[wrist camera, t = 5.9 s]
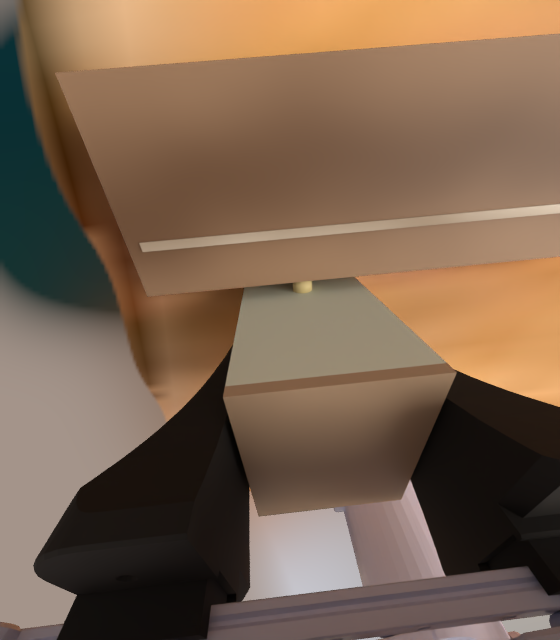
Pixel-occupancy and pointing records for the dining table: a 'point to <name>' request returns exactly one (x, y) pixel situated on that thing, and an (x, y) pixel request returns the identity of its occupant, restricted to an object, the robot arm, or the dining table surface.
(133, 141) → the tan rectangular bar
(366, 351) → the block
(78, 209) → the dining table surface
